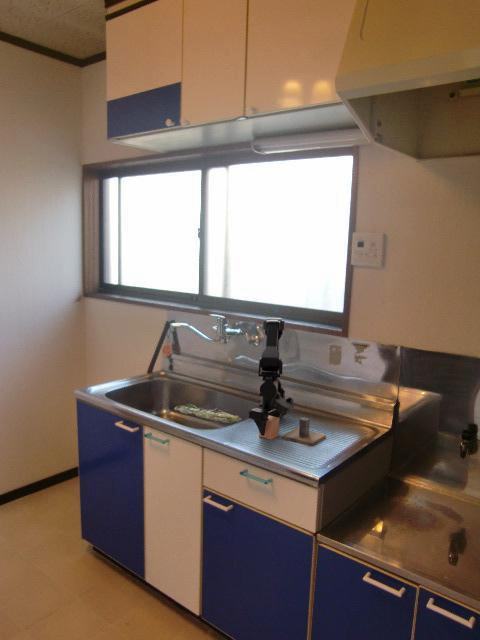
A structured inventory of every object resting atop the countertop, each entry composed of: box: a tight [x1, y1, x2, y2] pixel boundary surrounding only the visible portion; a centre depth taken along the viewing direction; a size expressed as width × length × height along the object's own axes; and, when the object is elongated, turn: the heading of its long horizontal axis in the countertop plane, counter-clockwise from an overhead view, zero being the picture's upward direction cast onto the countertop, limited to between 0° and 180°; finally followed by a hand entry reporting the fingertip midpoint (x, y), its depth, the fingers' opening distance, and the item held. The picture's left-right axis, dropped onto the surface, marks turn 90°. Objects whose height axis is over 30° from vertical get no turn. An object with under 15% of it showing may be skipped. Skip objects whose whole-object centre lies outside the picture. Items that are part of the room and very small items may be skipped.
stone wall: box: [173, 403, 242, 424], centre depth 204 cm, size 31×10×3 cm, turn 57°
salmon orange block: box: [258, 415, 280, 440], centre depth 180 cm, size 5×5×7 cm
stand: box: [281, 416, 327, 447], centre depth 179 cm, size 12×10×7 cm
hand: (269, 432), depth 181 cm, fingers open, 8 cm apart
